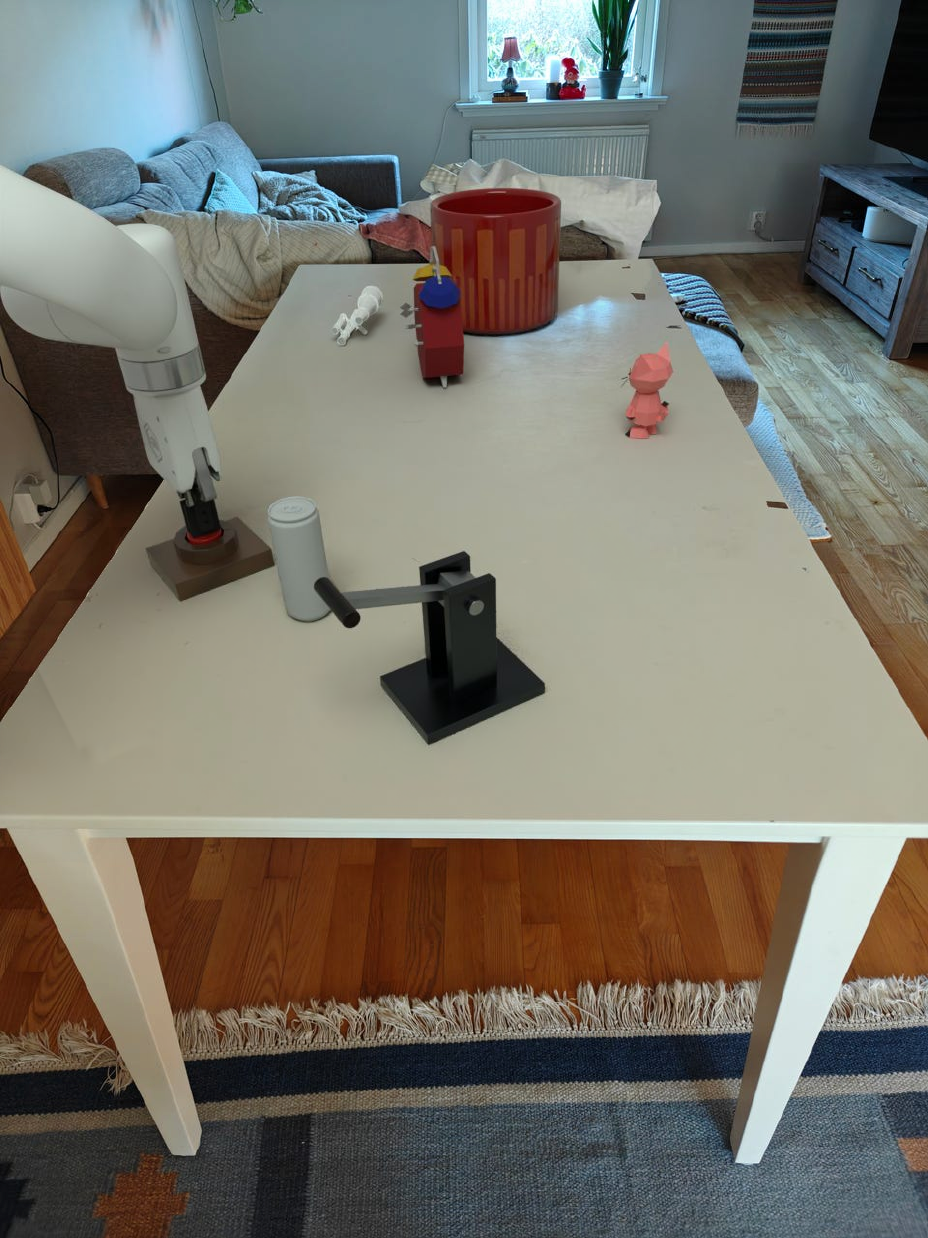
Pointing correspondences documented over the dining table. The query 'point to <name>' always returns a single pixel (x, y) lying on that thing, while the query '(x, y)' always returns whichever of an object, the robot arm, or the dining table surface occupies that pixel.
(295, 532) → the beverage can
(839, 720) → the dining table surface
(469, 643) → the bracket
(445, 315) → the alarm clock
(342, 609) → the lever
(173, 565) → the button block
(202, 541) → the button
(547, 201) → the planter
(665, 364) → the cat figurine
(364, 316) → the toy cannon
